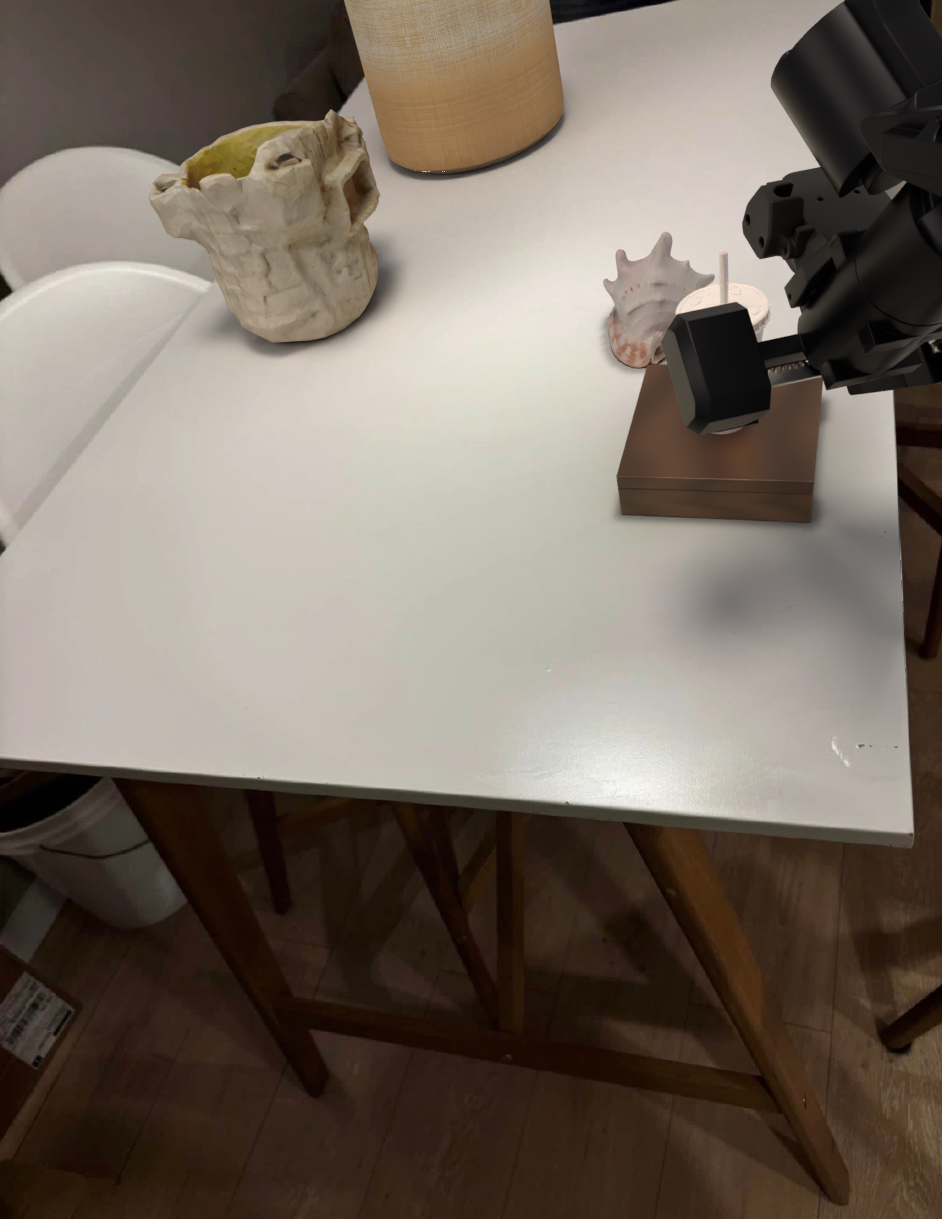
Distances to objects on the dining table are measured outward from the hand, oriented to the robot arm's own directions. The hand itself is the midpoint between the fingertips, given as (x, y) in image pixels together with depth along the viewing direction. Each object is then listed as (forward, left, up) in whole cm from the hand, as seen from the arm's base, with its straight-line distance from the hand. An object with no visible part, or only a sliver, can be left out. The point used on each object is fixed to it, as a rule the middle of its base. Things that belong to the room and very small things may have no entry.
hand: (781, 402), depth 56 cm
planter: (+46, -75, -12) cm, 88 cm away
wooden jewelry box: (+5, -9, -12) cm, 15 cm away
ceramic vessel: (+53, -35, -12) cm, 64 cm away
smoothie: (+5, -8, -8) cm, 13 cm away
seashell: (+13, -27, -12) cm, 32 cm away
